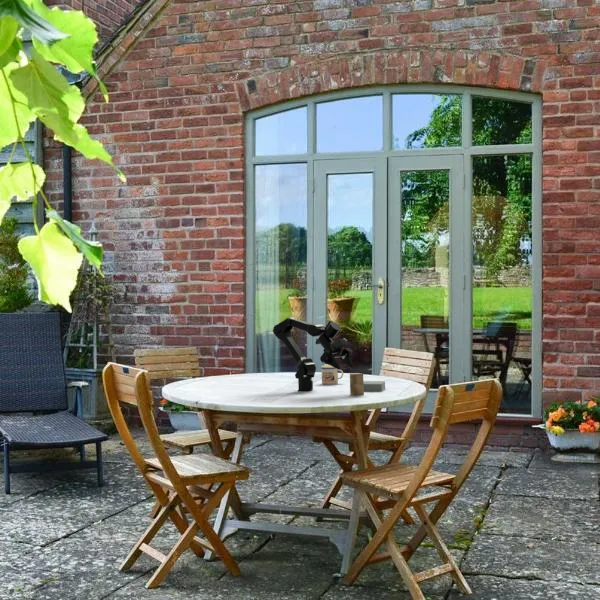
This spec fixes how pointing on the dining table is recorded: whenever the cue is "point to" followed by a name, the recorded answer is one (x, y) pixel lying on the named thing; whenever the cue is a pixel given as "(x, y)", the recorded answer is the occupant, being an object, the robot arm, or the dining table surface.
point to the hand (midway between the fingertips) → (346, 368)
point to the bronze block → (356, 384)
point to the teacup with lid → (330, 374)
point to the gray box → (374, 385)
